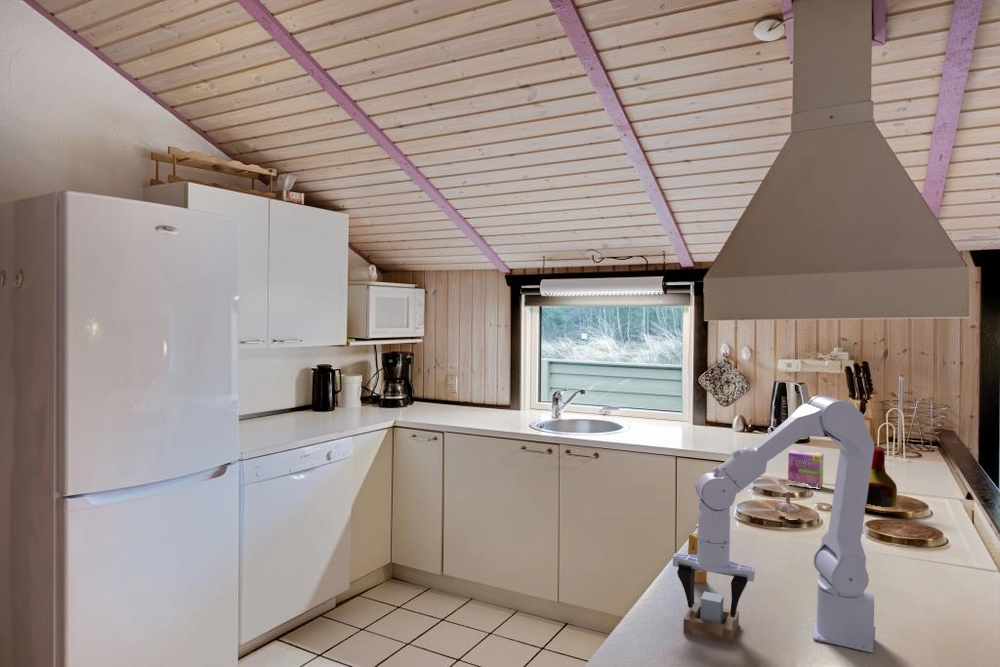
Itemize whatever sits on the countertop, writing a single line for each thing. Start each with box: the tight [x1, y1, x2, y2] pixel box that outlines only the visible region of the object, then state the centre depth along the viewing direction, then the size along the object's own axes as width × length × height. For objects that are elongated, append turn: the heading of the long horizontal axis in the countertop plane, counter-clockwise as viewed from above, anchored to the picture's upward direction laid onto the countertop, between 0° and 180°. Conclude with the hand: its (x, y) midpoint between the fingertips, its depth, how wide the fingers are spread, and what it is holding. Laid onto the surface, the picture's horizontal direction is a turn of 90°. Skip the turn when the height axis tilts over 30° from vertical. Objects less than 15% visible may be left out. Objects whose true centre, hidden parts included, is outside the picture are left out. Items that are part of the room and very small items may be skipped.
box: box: [787, 449, 824, 489], centre depth 226 cm, size 10×6×12 cm, turn 55°
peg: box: [700, 591, 724, 624], centre depth 122 cm, size 4×4×6 cm
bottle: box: [866, 445, 898, 507], centre depth 197 cm, size 12×6×20 cm, turn 50°
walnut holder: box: [682, 601, 740, 644], centre depth 122 cm, size 8×8×2 cm
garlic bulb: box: [774, 491, 802, 513], centre depth 189 cm, size 8×7×8 cm
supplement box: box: [687, 532, 708, 584], centre depth 144 cm, size 3×3×10 cm
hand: (711, 610), depth 122 cm, fingers open, 7 cm apart
